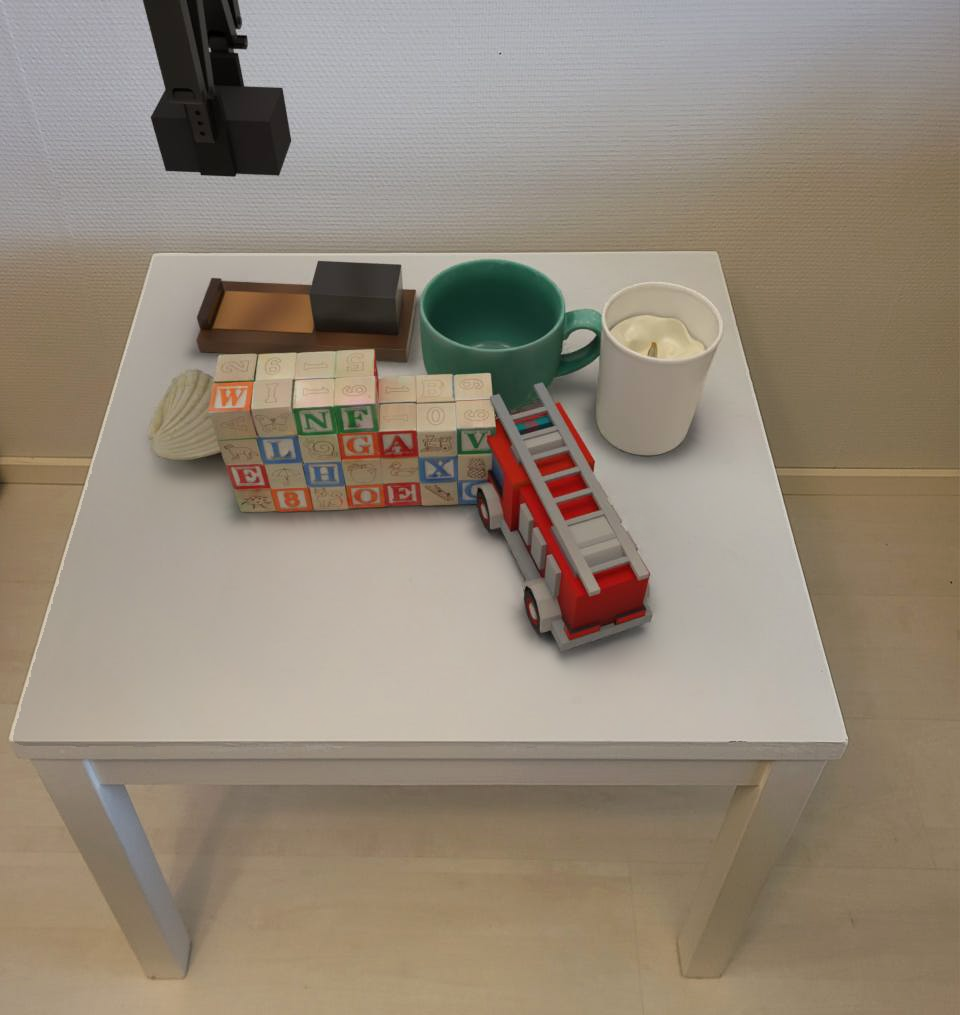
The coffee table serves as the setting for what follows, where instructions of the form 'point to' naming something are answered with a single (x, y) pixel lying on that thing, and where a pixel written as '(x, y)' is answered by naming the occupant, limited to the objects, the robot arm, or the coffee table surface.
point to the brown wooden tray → (312, 313)
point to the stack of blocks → (348, 432)
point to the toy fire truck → (561, 527)
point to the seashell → (185, 419)
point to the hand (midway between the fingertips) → (227, 152)
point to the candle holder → (653, 364)
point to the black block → (230, 130)
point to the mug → (502, 327)
